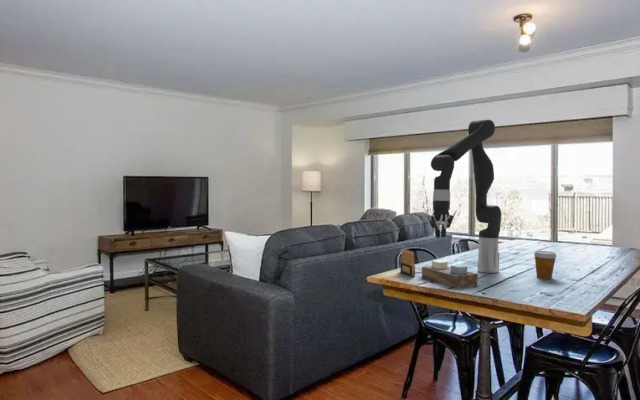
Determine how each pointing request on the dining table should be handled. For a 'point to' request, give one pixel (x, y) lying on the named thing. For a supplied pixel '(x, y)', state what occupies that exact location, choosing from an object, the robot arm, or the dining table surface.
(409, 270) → the wooden panel with frame
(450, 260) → the dining table surface
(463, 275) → the key panel
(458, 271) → the slate key
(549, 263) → the disposable coffee cup
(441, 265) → the cream key
